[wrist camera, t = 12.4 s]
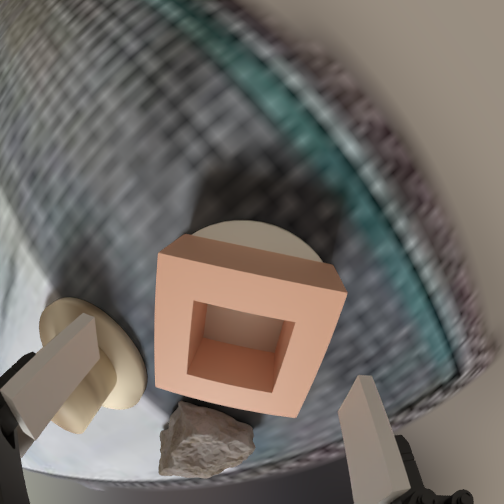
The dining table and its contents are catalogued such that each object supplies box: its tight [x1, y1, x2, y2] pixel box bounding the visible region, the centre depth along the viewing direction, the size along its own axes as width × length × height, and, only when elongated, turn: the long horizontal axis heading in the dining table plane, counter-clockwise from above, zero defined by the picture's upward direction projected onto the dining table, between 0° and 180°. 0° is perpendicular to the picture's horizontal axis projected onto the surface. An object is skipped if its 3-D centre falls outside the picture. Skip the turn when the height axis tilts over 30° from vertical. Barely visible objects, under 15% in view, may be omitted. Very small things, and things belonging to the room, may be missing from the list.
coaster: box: [192, 220, 323, 353], centre depth 18 cm, size 12×12×1 cm
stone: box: [159, 401, 255, 478], centre depth 20 cm, size 8×10×6 cm
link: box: [155, 234, 347, 418], centre depth 16 cm, size 9×9×4 cm
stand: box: [16, 297, 147, 458], centre depth 15 cm, size 12×12×13 cm
